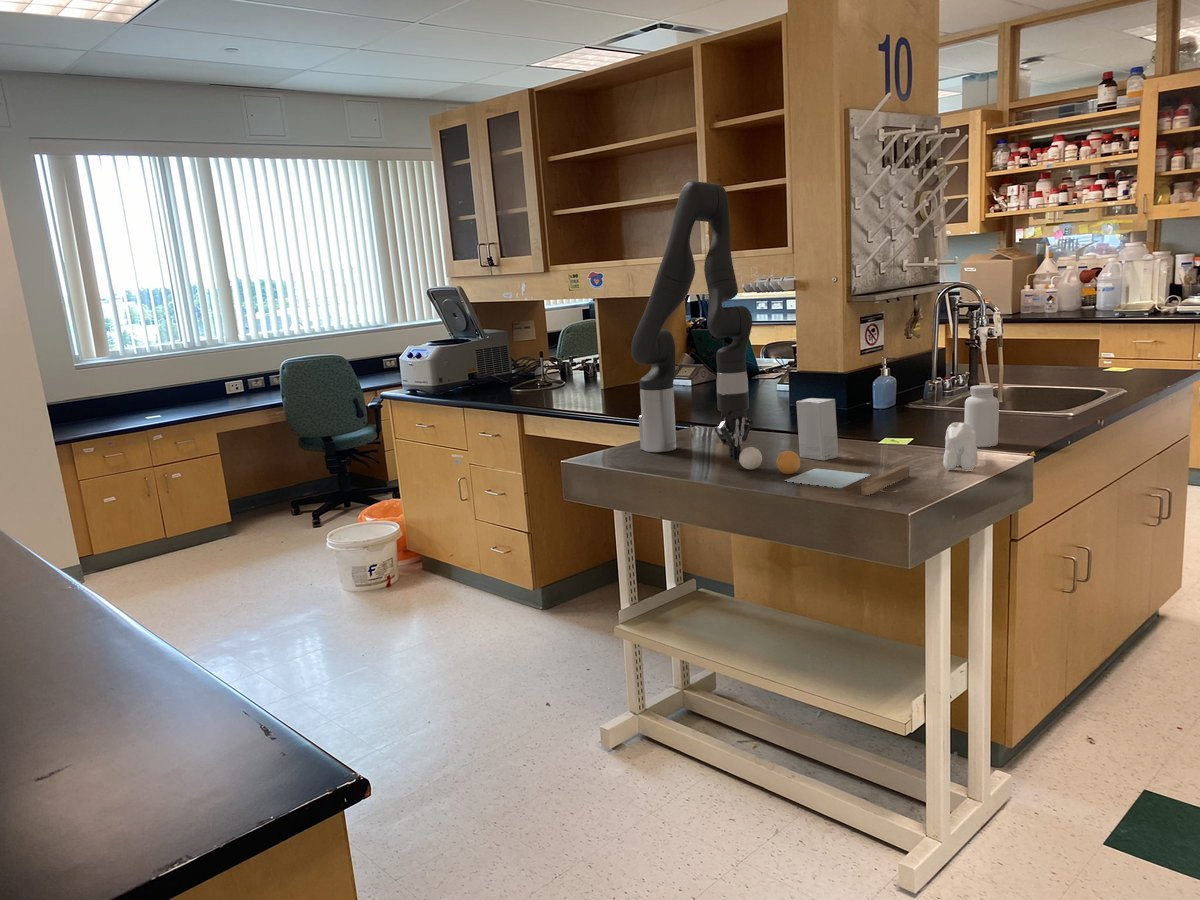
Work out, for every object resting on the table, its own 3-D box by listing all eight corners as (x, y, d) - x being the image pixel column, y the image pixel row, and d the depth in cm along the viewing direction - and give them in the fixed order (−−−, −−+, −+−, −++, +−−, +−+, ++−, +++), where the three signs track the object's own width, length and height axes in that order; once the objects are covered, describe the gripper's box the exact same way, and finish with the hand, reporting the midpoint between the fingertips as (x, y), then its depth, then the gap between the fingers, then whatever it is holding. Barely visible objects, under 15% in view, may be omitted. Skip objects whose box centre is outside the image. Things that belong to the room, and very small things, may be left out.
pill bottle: (964, 447, 220) (965, 388, 217) (964, 441, 227) (964, 384, 224) (998, 448, 217) (1000, 388, 214) (997, 441, 224) (998, 383, 221)
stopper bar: (861, 495, 181) (861, 483, 181) (902, 475, 196) (902, 464, 195) (868, 495, 180) (868, 484, 180) (909, 476, 195) (909, 465, 194)
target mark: (784, 481, 197) (784, 480, 197) (815, 469, 207) (815, 468, 207) (840, 488, 188) (840, 487, 188) (870, 475, 198) (870, 474, 198)
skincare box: (838, 457, 218) (838, 398, 215) (822, 461, 215) (821, 402, 212) (813, 453, 225) (812, 396, 222) (796, 457, 222) (795, 399, 219)
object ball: (772, 475, 204) (771, 452, 203) (784, 470, 208) (784, 447, 207) (792, 477, 200) (792, 454, 199) (805, 472, 204) (804, 449, 203)
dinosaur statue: (933, 474, 191) (935, 424, 190) (960, 462, 211) (961, 417, 210) (966, 476, 187) (968, 425, 186) (990, 464, 207) (992, 418, 206)
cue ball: (730, 456, 211) (745, 444, 208) (743, 453, 215) (757, 441, 212) (743, 475, 210) (758, 463, 206) (755, 471, 214) (770, 459, 210)
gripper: (735, 386, 217) (738, 454, 220) (703, 393, 208) (706, 464, 211) (761, 387, 212) (763, 457, 215) (729, 394, 203) (732, 467, 206)
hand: (735, 460), depth 213 cm, fingers closed
